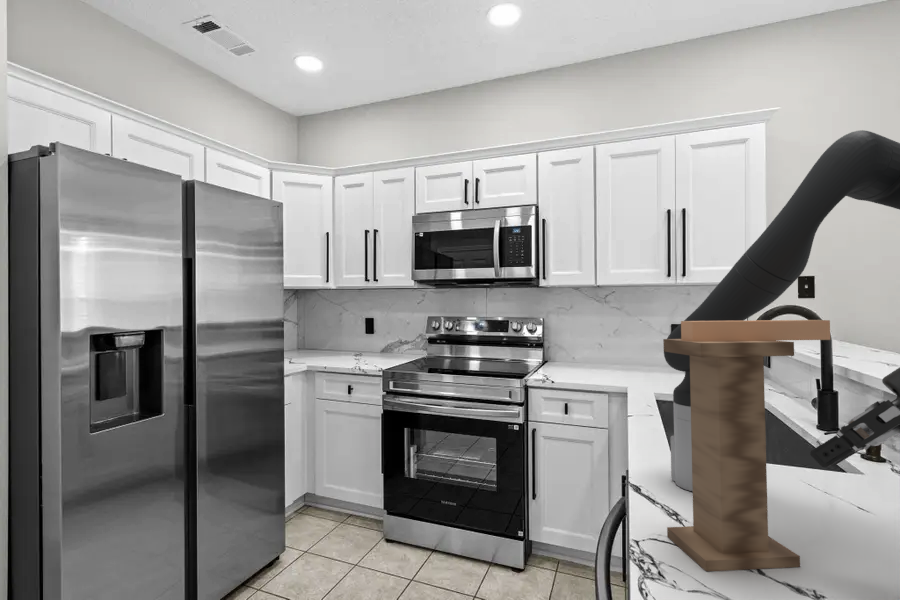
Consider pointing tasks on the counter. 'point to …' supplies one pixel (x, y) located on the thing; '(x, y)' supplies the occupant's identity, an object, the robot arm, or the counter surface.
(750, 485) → the wooden pedestal column
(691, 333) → the bar
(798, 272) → the robot arm
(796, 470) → the counter surface
